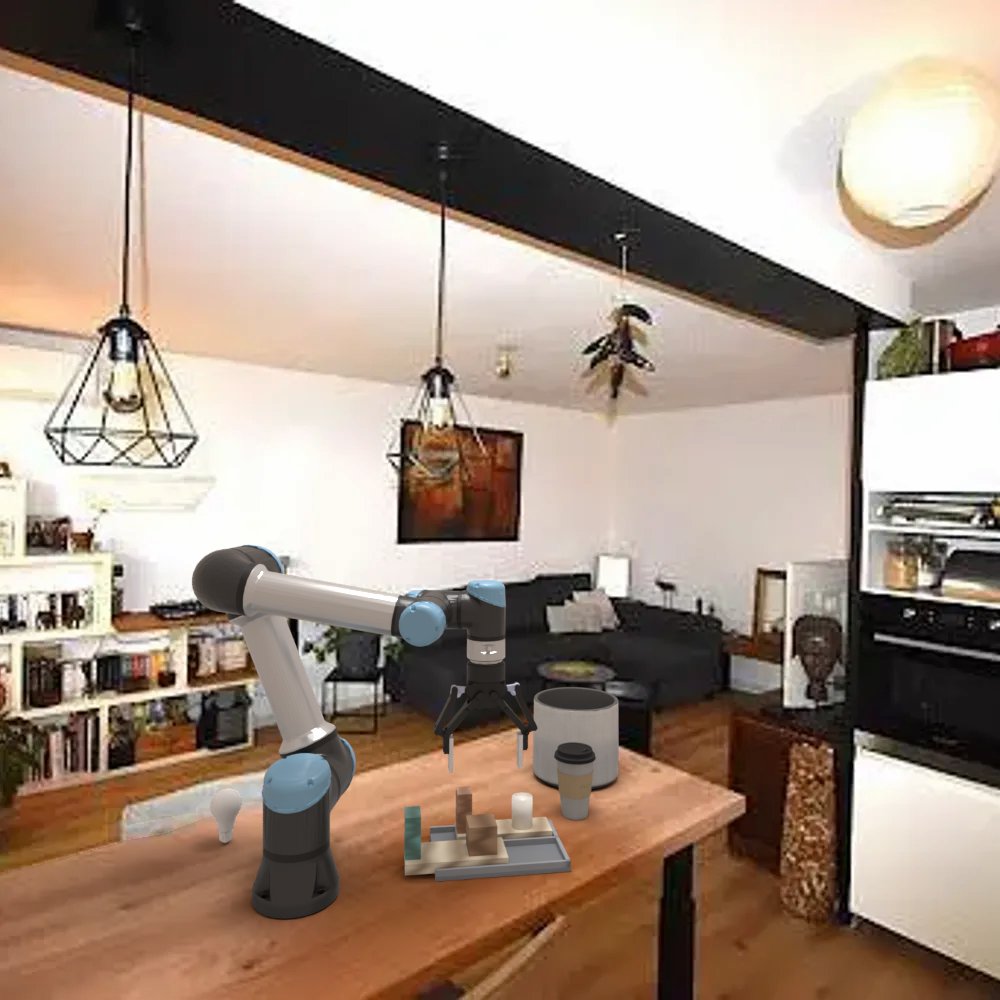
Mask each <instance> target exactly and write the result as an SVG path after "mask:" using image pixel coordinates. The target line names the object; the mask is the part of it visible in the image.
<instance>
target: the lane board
mask: <svg viewBox="0 0 1000 1000" xmlns="http://www.w3.org/2000/svg"><path fill="white" fill-rule="evenodd" d="M547 820H548V822H549V824H550V826H551V829H552V836H550V837H535V838H520V839H505V840H503V842H504V845H505V848H506V851H507V854H508V864H499V865H485V866H471V867H457V868H443V869H435V873H433V874H434V882H445V881H457V880H460V881H461V880H471V879H472V880H473V879H486V878H500V877H514V876H523V875H524V876H525V875H527V876H529V875H539V874H552V873H566V872H571V870H572V860H571V858H570V856H569V854H568V853H567V850H566V848H565V846H564V844H563V842H562V840H561V839H560V836H559V834H558V832H557V830H556V827H555V826H554V824H553V821H552V820H551V818H547ZM429 837H430V842H437V841H452V840H457V839H456V834H455V824H452V825H450V824H449V825H433V826H431V825H430V827H429Z"/></svg>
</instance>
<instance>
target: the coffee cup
mask: <svg viewBox="0 0 1000 1000" xmlns="http://www.w3.org/2000/svg"><path fill="white" fill-rule="evenodd" d="M554 758H555V759H556V760H557V775H558V786H559V787H558V794H559V797H560V799H559V800H560V808H561V815H562V816H563V817H564V818H566V819H569V820H572V821H573V820H574V821H579V820H584V819H586V818H587V817H588V816H589V815H588V814H589V809H590V807H589V805H590V800H591V799H590V797H591V794H592V789H591V787H592V778H593V762H594V761H595V759H596V757H595V753H594V752H593V750H592V747H591V746H589V745H587V744H583V743H577V742H569V743H563V744H560V745H559V746H558V748H557V750H556V751H555V755H554Z"/></svg>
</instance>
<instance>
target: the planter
mask: <svg viewBox="0 0 1000 1000" xmlns="http://www.w3.org/2000/svg"><path fill="white" fill-rule="evenodd" d="M533 719H534V721H535V723H536V725H537V727H538V728H537V730H536V731H532V732H533V738H532V740H533V741H532V745H533V746H532V770H533V773H534V774H535V776H536V777H538V778H539V779H540V781H542V782H544V783H545V784H548V785H550V786H552V787H555V788H559V786H558V775H557V760H556V759H555V758H554V755H555V751H556V750H557V748H558V746H559V745H560V744H563V743H569V742H577V743H583V744H587V745H589V746H591V747H592V750H593V752H594V753H595V757H596V759H595V761H594V762H593V778H592V787H591V790H595V789H600V788H604V787H606V786H608V785H610V784H611V783H612V782H613V781H615V780H616V779H617V778H618V776H619V768H620V767H619V765H620V763H619V762H620V761H619V755H620V754H619V753H620V752H619V751H620V750H619V749H620V748H619V744H620V743H619V742H620V741H619V699H618V698H617V696H616V695H614V694H612V693H610V692H607V691H604V690H601V689H595V688H590V687H577V686H576V687H575V686H573V687H572V686H571V687H570V686H568V687H566V686H565V687H553V688H549V689H545V690H542V691H539V692H537V693H536V694H535V695H534V697H533Z"/></svg>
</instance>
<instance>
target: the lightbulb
mask: <svg viewBox="0 0 1000 1000" xmlns="http://www.w3.org/2000/svg"><path fill="white" fill-rule="evenodd" d="M242 804H243V803H242V797H241V795H240V792H238V791H237V790H236V789H234V788H231V787H230V788H229V787H227V788H222V789H220V790H218V791H217V792H216V793H215V794H214V795H213V796H212V798H211V800H210V805H209V809H210V813H211V815H212V817H214V819H215V823H216V825H217V832H218V836H219V837H218V839H219V841H220V842H221V843H223V844H227V843H229V841H231V840H232V839H233V835H234V832H233V831H234V828H235V822H236V818H237V817H238V814H239V813H240V810H241V808H242Z"/></svg>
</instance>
